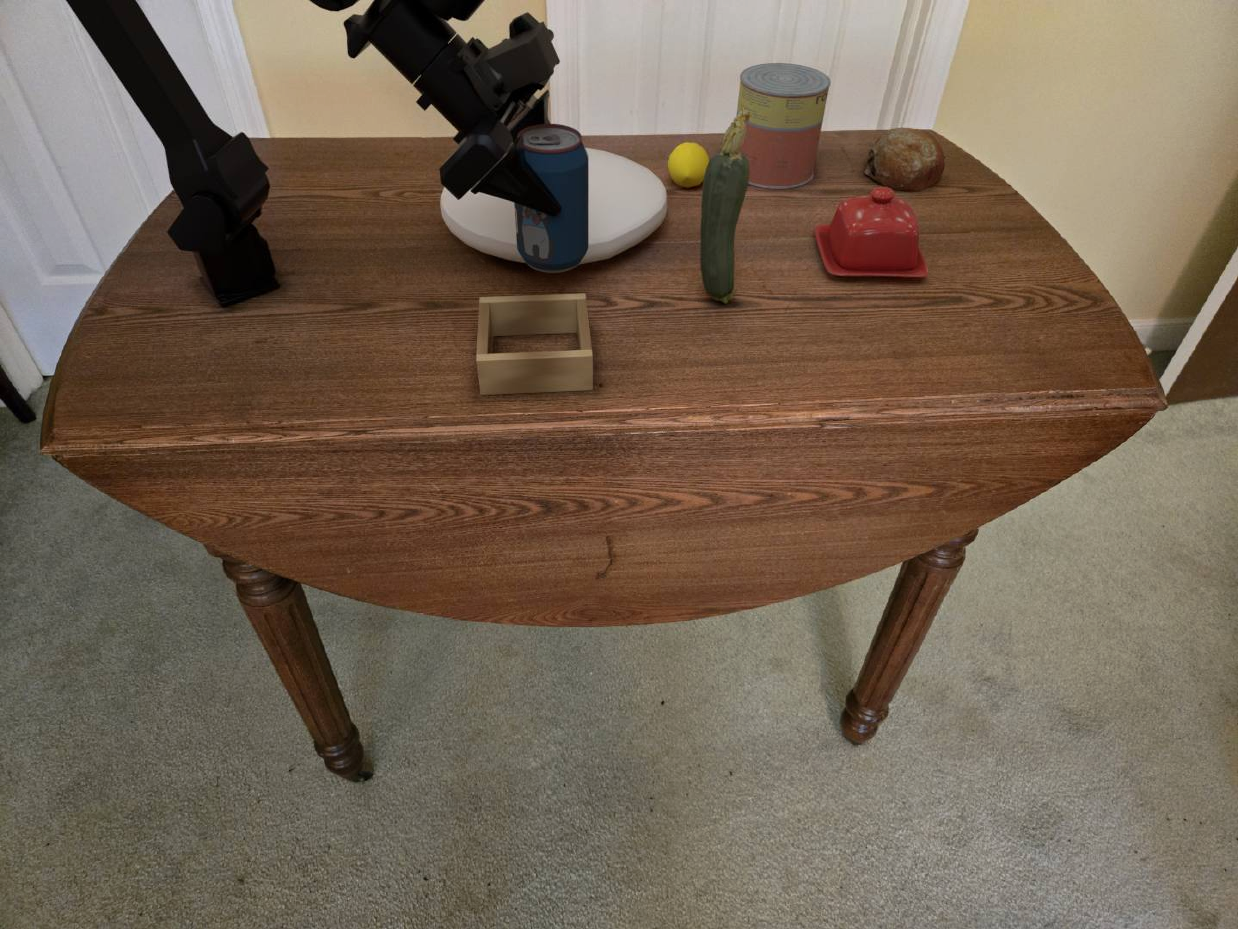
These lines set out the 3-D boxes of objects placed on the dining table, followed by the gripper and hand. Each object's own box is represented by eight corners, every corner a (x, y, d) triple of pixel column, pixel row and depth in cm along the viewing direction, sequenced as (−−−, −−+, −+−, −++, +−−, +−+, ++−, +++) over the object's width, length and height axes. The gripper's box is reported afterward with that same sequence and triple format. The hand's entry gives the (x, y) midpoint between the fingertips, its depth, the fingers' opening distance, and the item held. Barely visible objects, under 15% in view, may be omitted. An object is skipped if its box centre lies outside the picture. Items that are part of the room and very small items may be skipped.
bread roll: (856, 187, 116) (845, 139, 110) (922, 149, 115) (914, 98, 109) (893, 219, 109) (884, 169, 103) (963, 179, 108) (957, 126, 102)
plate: (484, 128, 108) (684, 149, 104) (487, 178, 112) (679, 199, 108) (398, 201, 86) (647, 231, 82) (405, 260, 90) (643, 290, 86)
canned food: (826, 184, 108) (845, 90, 100) (746, 192, 106) (758, 97, 98) (794, 150, 116) (809, 60, 108) (718, 156, 114) (728, 65, 106)
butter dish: (824, 284, 90) (840, 212, 84) (810, 233, 98) (823, 164, 93) (929, 287, 90) (952, 215, 84) (905, 236, 98) (925, 167, 92)
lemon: (707, 197, 105) (711, 156, 101) (665, 195, 105) (667, 153, 101) (707, 174, 110) (711, 133, 106) (667, 171, 110) (670, 131, 106)
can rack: (480, 395, 75) (475, 360, 72) (483, 331, 83) (479, 296, 80) (593, 390, 76) (592, 355, 73) (586, 326, 83) (585, 293, 81)
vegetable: (700, 313, 86) (719, 120, 72) (686, 292, 89) (702, 102, 75) (739, 307, 86) (765, 115, 73) (725, 286, 89) (747, 98, 76)
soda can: (585, 239, 83) (585, 119, 75) (591, 275, 78) (592, 151, 70) (516, 241, 82) (508, 121, 74) (518, 277, 77) (510, 153, 69)
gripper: (462, 23, 58) (613, 186, 65) (522, -41, 71) (642, 100, 78) (375, 126, 64) (521, 265, 71) (445, 49, 77) (562, 172, 84)
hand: (565, 195), depth 76 cm, fingers closed on soda can, 7 cm apart
